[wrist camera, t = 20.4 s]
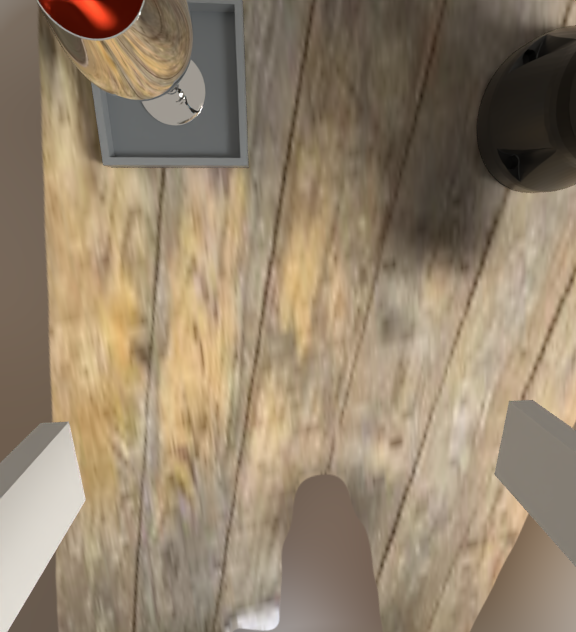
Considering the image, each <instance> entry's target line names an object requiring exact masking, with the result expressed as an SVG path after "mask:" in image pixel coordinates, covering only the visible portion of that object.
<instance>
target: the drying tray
mask: <svg viewBox="0 0 576 632" xmlns="http://www.w3.org/2000/svg"><path fill="white" fill-rule="evenodd" d="M186 1H187V3H188V6H189V10H190V13H191V18H192V23H193V32H194V44H193V52H192V57H191V60H192V61H193V62H194V63H195V64H196V65H197V67H198V68H199V70H200V72H201V74H202V76H203V79H204V82H205V88H206V97H205V102H204V106H203V108H202V110H201V112H200V113H199V115H198V116H197V117H196V118H195V119H194V120H193V121H191V122H189V123H187V124H185V125H181V126H171V125H167V124H164V123H161V122H160V121H158V120H156V119H155V118H154V117H153V116H151V115H150V114H149V112H148V111H147V110H146V108H145V107H144V105H143V103H142V101H129V100H125V99H121V98H118V97H115V96H113V95H111V94H109V93H107V92H105V91H103V90H102V89H100V88H99V87H97V86H96V85H95V84H93V83H92V82H91V85H92V92H93V99H94V106H95V113H96V119H97V126H98V133H99V140H100V147H101V154H102V161H103V165H105V166H108V167H114V168H249V166H248V136H247V107H246V78H245V49H244V20H243V1H242V0H186Z"/></svg>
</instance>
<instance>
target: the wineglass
mask: <svg viewBox="0 0 576 632" xmlns="http://www.w3.org/2000/svg"><path fill="white" fill-rule="evenodd" d="M36 1H37V3H38V5H39V7H40V9H41V11H42V12H43V14H44V16H45V18H46V20H47V22H48V24H49V25H50V27H51V29H52V31H53V33H54V34H55V36H56V38H57V39H58V41H59V43H60V44H61V46H62V48H63V49H64V51H65V52H66V54H67V55H68V57H69V58H70V59H71V61H72V62H73V63H74V65H75V66H76V67H77V68H78V69H79V70H80V72H81V73H82V74H83V75H84V76H85V77H86V78H87V79H89V80H90V81H91V82H92V83H93V84H95V85H96V86H97V87H99V88H100V89H102V90H103V91H105V92H107V93H109V94H111V95H113V96H115V97H118V98H121V99H125V100H129V101H142V103H143V105H144V107H145V108H146V110H147V111H148V112H149V114H150V115H151V116H153V117H154V118H155V119H156V120H158V121H160V122H161V123H164V124H167V125H171V126H181V125H185V124H187V123H189V122H191V121H193V120H194V119H195V118H196V117H197V116H198V115H199V113H200V112H201V110H202V108H203V106H204V102H205V97H206V88H205V82H204V79H203V76H202V74H201V72H200V70H199V68H198V67H197V65H196V64H195V63H194V62H193V61H192V60H191V57H192V52H193V44H194V32H193V23H192V18H191V13H190V10H189V6H188V3H187V1H186V0H36Z"/></svg>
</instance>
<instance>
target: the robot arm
mask: <svg viewBox="0 0 576 632" xmlns="http://www.w3.org/2000/svg"><path fill="white" fill-rule="evenodd" d="M477 138H478V145H479V150H480V153H481V156H482V159H483V161H484V163H485V165H486V167H487V169H488V170H489V171H490V173H491V174H492V175H493V176H494V177H495V178H496V179H497V180H498V181H499V182H500V183H502V184H503V185H505V186H506V187H508V188H510V189H513V190H516V191H520V192H526V193H537V192H551V191H557V190H561V189H565V188H568V187H570V186H573V185H575V184H576V25H575V26H568V27H563V28H559V29H556V30H553V31H550V32H548V33H546V34H543V35H541V36H540V37H538V38H536V39H535V40H533V41H531V42H530V43H528V44H526V45H525V46H523V47H521V48H520V49H518V50H517V51H516V52H515V53H513V54H512V55H511V56H510V57H509V58H508V59H507V60H506V61H505V62H504V63H503V64H502V65H501V66H500V68H499V69H498V70H497V72H496V73H495V75H494V76H493V78H492V79H491V81H490V83H489V85H488V87H487V89H486V91H485V93H484V96H483V99H482V102H481V105H480V109H479V115H478V122H477ZM495 476H496V477H497V478H498V479H499V480H500V481H501V482H502V484H503V485H504V486H505V487H506V488H507V489H508V490H509V491H510V493H511V494H512V495H513V496H514V497H515V498H516V499H517V501H518V502H519V503H520V504H521V505H522V506H523V507H524V509H525V510H526V511H527V512H528V513H529V514H530V515H531V516H532V517H533V519H534V520H535V521H536V522H537V523H538V524H539V525H540V527H541V528H542V529H543V530H544V531H545V532H546V534H547V535H548V536H549V537H550V538H551V539H552V540H553V541H554V543H555V544H556V545H557V546H558V547H559V548H560V549H561V550H562V552H563V553H564V554H565V555H566V556H567V557H568V558H569V560H570V561H571V562H572V563H573V564H574V565H575V566H576V430H574V429H573V428H571V427H570V426H569V425H567V424H566V423H564V422H563V421H562V420H560V419H559V418H557V417H556V416H554V415H553V414H552V413H550V412H549V411H547V410H546V409H545V408H543V407H542V406H540V405H539V404H537V403H536V402H535V401H533V400H523V401H509V405H508V410H507V415H506V420H505V425H504V430H503V435H502V440H501V445H500V450H499V455H498V460H497V465H496V470H495ZM85 500H86V499H85V495H84V490H83V485H82V481H81V476H80V471H79V467H78V462H77V457H76V453H75V448H74V443H73V439H72V434H71V429H70V425H69V422H55V423H40V424H39V425H38V426H37V427H36V428H35V429H34V430H33V431H32V432H31V433H30V434H29V435H28V436H27V437H26V438H25V439H24V440H23V441H22V442H21V443H20V444H19V445H18V446H17V447H16V448H15V449H14V450H13V451H12V452H11V453H10V454H9V455H8V456H7V457H6V458H5V459H4V460H3V461H2V462H1V463H0V632H7V631H8V630H9V628H10V626H11V625H12V623H13V621H14V619H15V618H16V616H17V615H18V613H19V611H20V609H21V608H22V606H23V604H24V603H25V601H26V599H27V598H28V596H29V594H30V593H31V591H32V589H33V588H34V586H35V584H36V583H37V581H38V579H39V577H40V576H41V574H42V573H43V571H44V569H45V567H46V566H47V564H48V562H49V561H50V559H51V557H52V555H53V554H54V552H55V551H56V549H57V547H58V546H59V544H60V542H61V541H62V539H63V537H64V536H65V534H66V532H67V530H68V529H69V527H70V525H71V524H72V522H73V520H74V519H75V517H76V515H77V514H78V512H79V510H80V509H81V507H82V505H83V504H84V502H85Z"/></svg>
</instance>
